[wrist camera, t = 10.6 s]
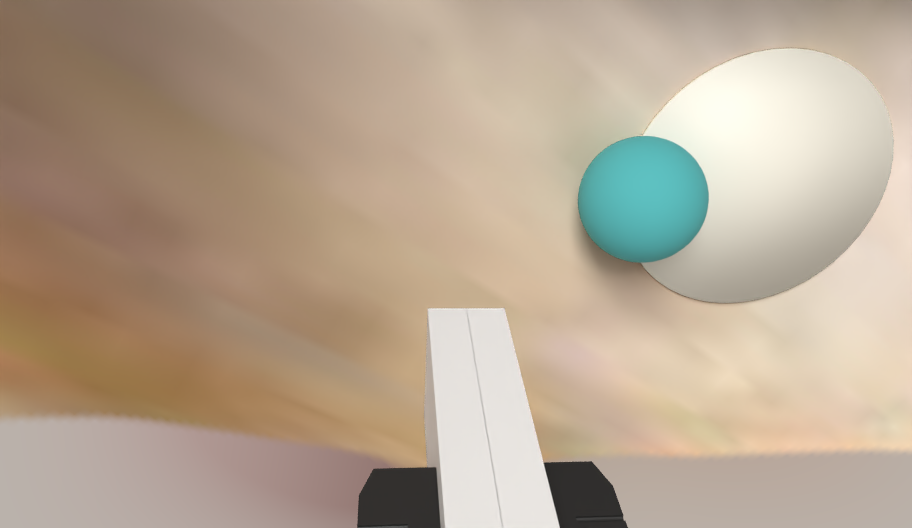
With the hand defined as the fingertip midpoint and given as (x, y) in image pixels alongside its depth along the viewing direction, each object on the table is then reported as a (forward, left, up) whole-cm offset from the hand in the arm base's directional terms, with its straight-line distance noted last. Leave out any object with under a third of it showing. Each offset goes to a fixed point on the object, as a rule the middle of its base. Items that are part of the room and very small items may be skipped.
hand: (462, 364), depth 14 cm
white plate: (+16, -3, -19) cm, 25 cm away
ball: (+9, -3, -16) cm, 18 cm away
